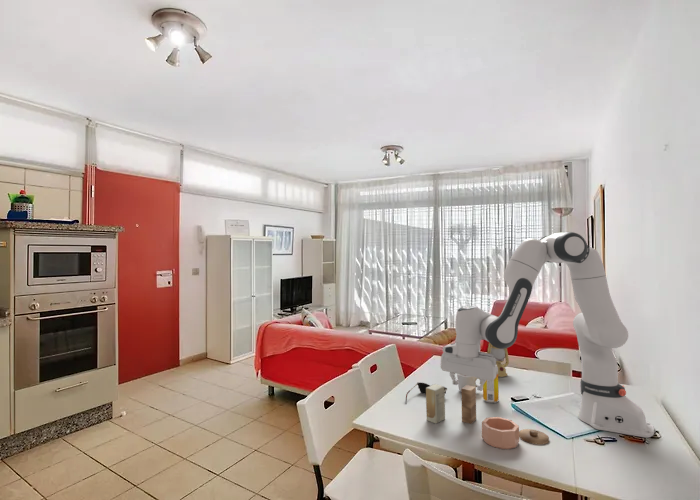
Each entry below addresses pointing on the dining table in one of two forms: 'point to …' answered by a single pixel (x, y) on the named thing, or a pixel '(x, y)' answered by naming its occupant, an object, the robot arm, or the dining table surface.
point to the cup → (466, 381)
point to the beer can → (491, 389)
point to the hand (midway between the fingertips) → (467, 387)
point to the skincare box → (435, 403)
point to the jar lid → (533, 436)
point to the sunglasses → (422, 389)
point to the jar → (500, 432)
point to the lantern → (499, 358)
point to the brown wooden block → (468, 404)
